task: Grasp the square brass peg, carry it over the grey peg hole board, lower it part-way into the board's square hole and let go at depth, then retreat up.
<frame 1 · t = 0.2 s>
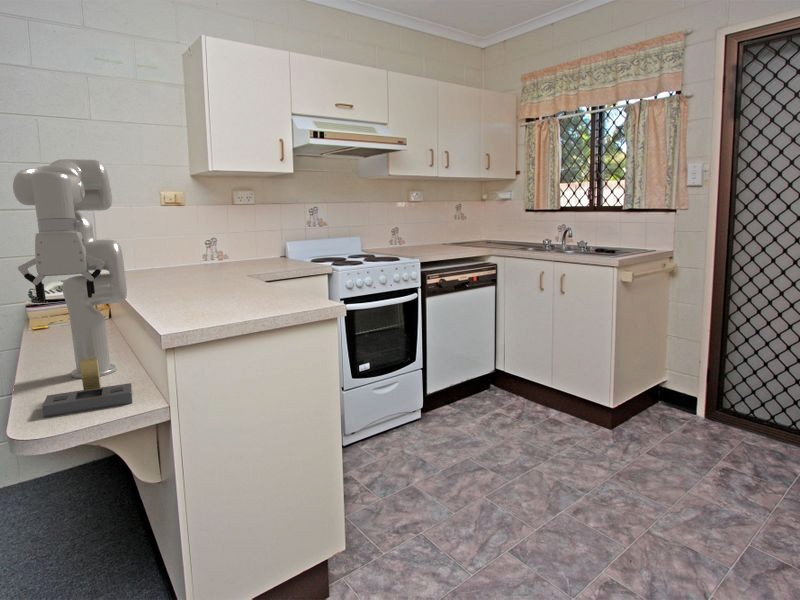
hand: (67, 298, 125), 31 cm above the counter, fingers open, 9 cm apart
brass peg: (93, 393, 150), on the counter
grey peg hole board: (90, 404, 141), on the counter
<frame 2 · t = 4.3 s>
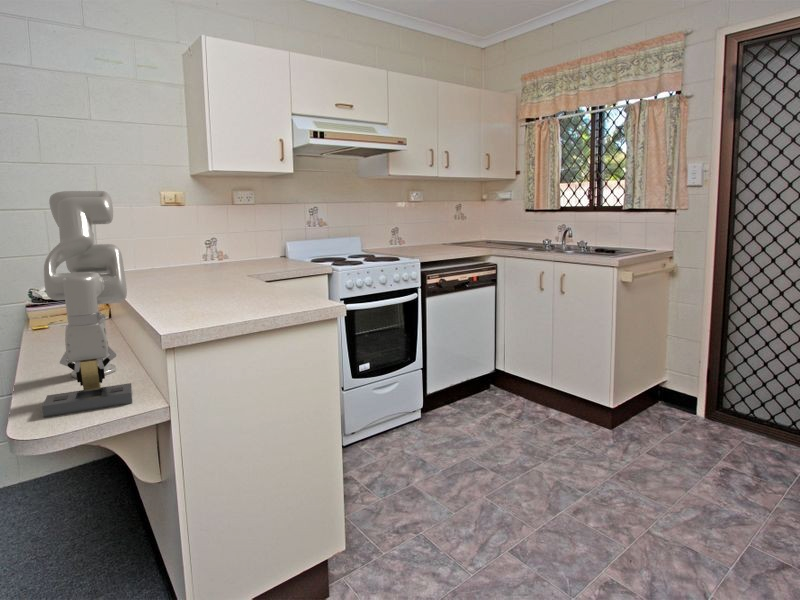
hand: (91, 382, 149), 3 cm above the counter, fingers closed on brass peg, 4 cm apart
brass peg: (93, 393, 150), on the counter, touching gripper
when the fingers open (5 cm above the counter, at t = 10.4 s): brass peg drops 1 cm, resting in grey peg hole board.
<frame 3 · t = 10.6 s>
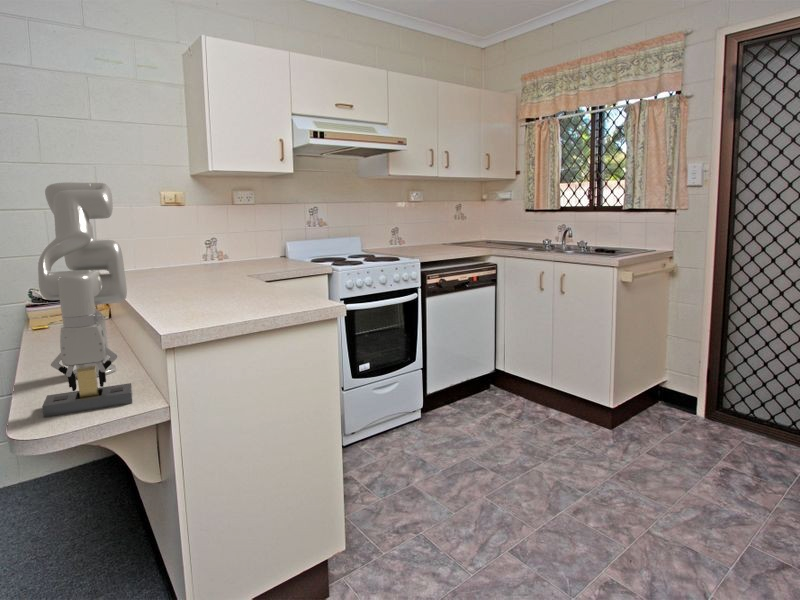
hand: (88, 386, 140), 5 cm above the counter, fingers open, 5 cm apart
brass peg: (90, 404, 141), resting in grey peg hole board
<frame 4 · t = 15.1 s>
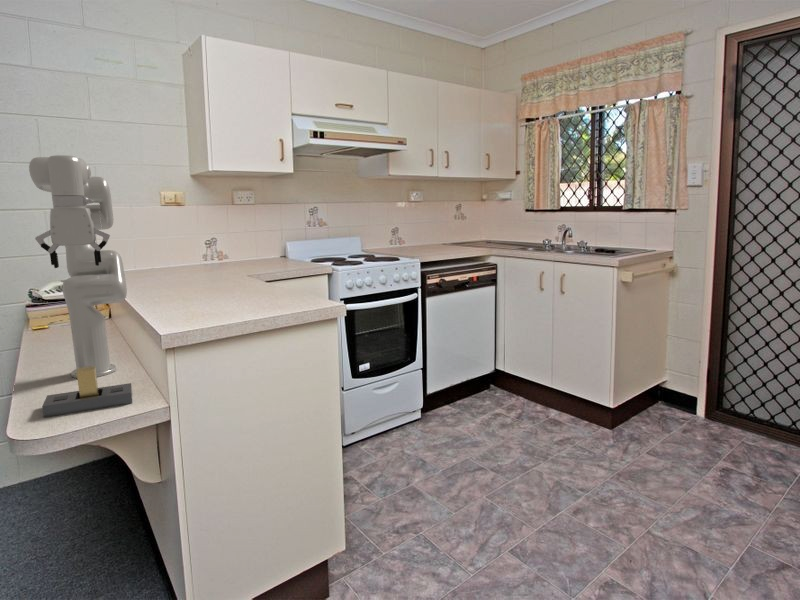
hand: (77, 266, 144), 36 cm above the counter, fingers open, 9 cm apart
nothing on the counter moved.
at the end: brass peg 0.0 cm off-centre on the grey peg hole board, point 0.0 cm above the grey peg hole board's base; brass peg tilted 0°; the gripper is holding nothing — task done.
